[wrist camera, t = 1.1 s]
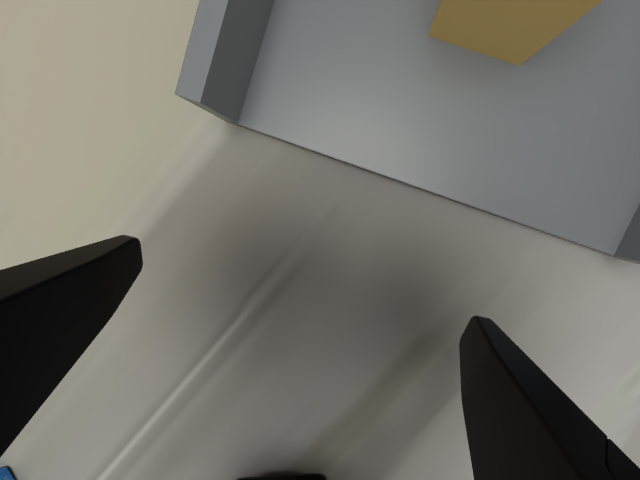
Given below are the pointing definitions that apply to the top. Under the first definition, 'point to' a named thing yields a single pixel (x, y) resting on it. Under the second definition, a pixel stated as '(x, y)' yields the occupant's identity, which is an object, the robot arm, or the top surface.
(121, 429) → the top surface
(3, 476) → the ink box
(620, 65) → the open box
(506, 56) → the ochre block
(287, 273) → the top surface
